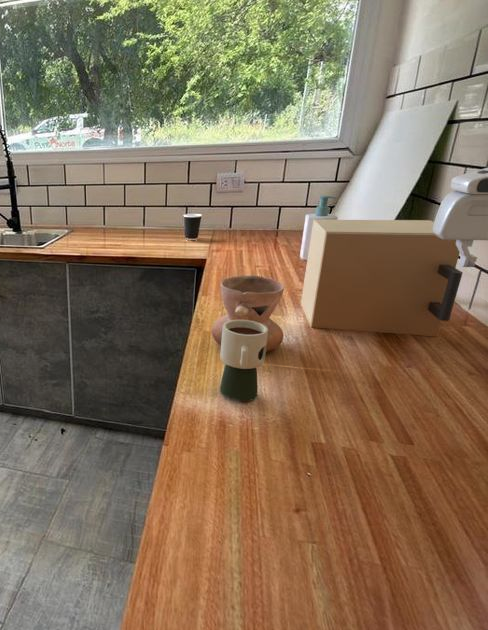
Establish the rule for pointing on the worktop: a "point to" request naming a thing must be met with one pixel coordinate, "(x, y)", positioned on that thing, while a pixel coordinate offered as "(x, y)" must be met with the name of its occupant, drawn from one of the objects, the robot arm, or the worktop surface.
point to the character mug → (242, 357)
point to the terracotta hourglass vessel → (251, 305)
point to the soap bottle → (320, 215)
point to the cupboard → (348, 227)
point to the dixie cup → (192, 225)
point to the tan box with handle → (386, 283)
